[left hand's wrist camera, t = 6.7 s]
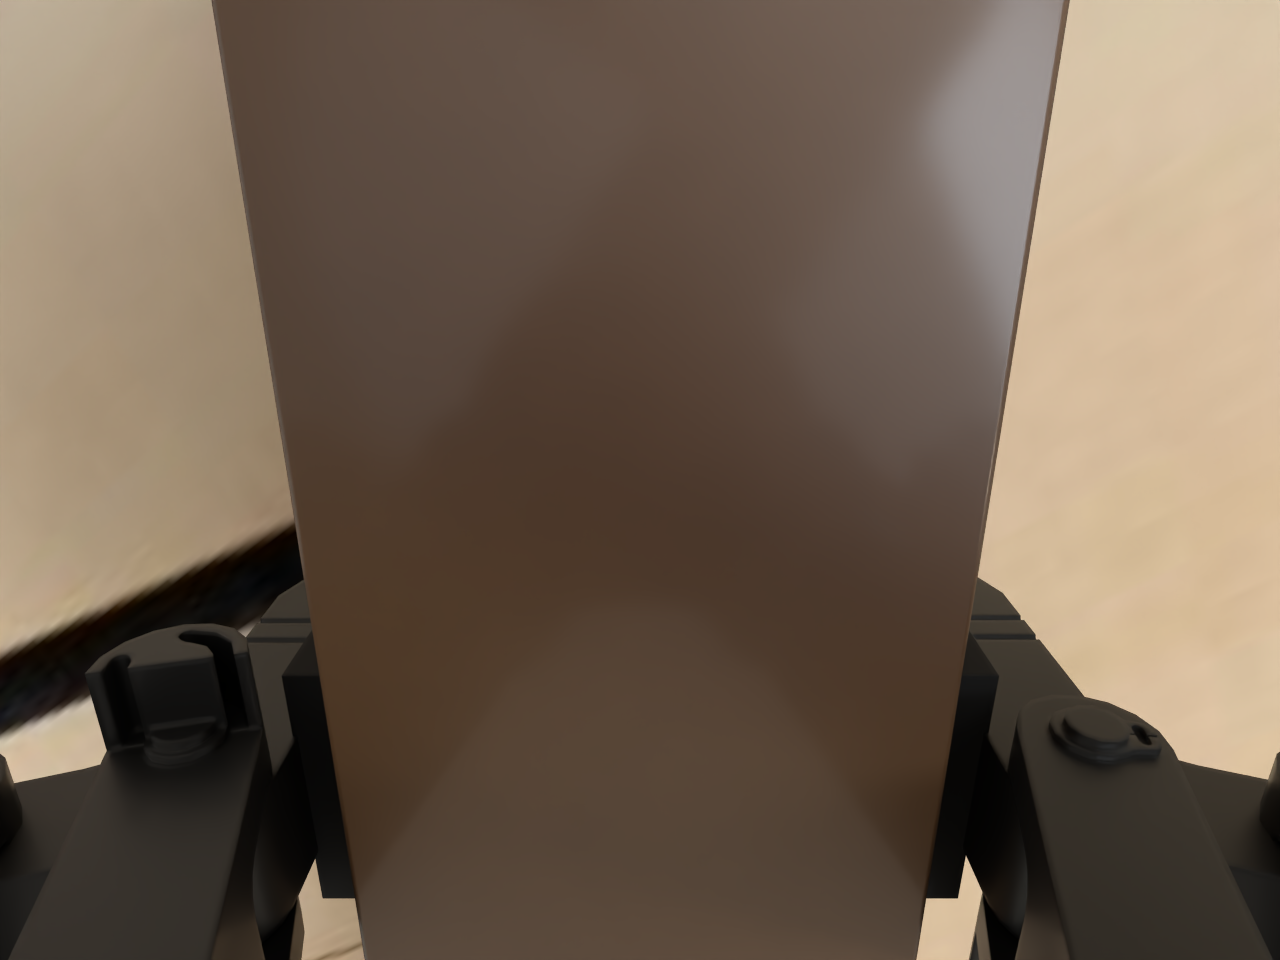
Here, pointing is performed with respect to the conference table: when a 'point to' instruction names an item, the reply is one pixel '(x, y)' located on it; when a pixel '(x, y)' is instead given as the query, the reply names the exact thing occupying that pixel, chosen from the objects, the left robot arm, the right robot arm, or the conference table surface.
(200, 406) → the conference table surface
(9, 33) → the conference table surface
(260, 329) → the conference table surface
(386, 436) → the bar
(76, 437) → the conference table surface
